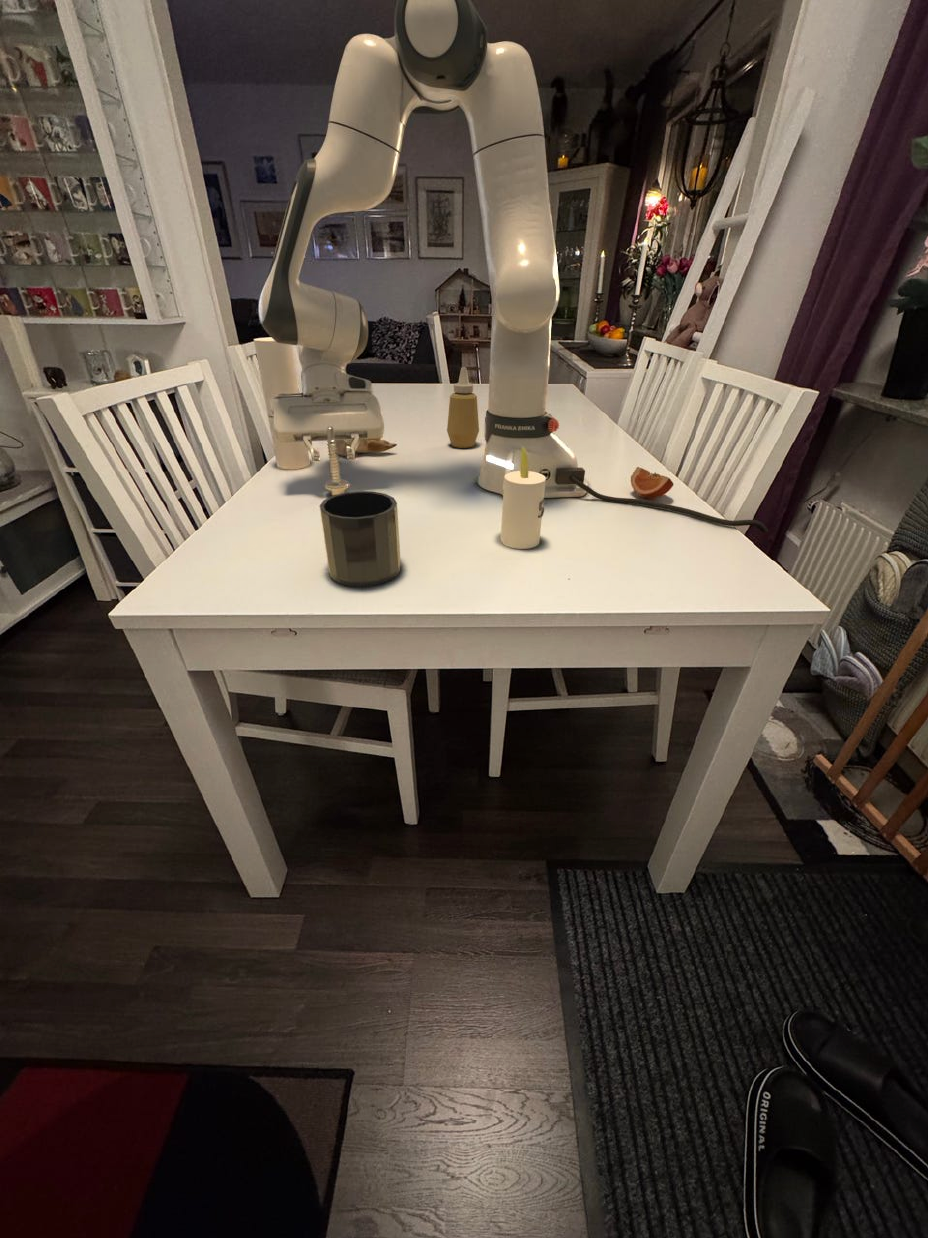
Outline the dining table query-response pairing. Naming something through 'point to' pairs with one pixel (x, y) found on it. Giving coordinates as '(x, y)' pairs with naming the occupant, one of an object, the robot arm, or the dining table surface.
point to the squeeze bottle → (463, 414)
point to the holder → (361, 537)
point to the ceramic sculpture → (364, 445)
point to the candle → (522, 506)
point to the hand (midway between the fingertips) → (333, 458)
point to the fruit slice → (650, 484)
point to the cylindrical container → (280, 380)
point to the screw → (334, 466)
